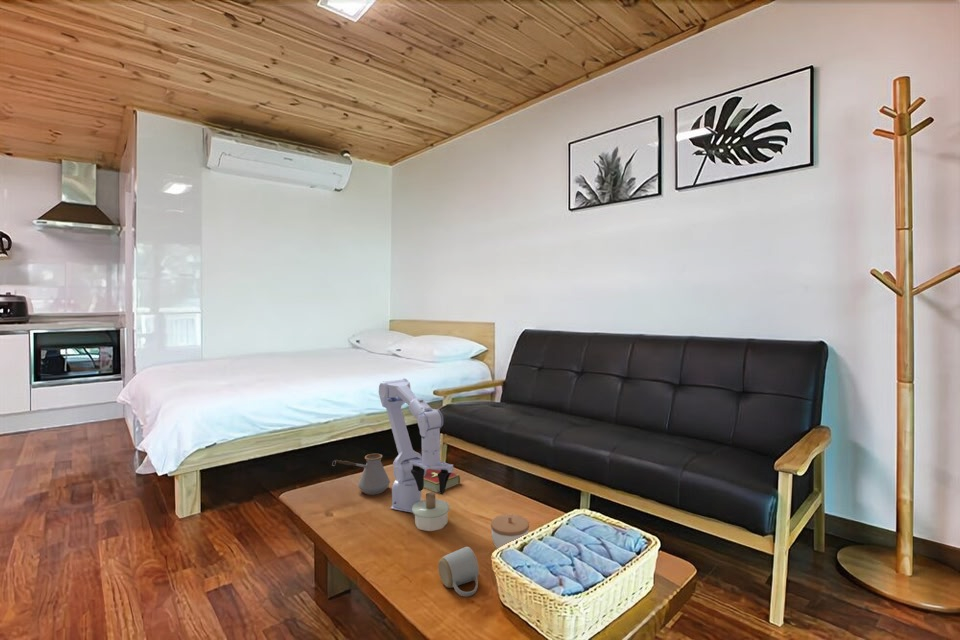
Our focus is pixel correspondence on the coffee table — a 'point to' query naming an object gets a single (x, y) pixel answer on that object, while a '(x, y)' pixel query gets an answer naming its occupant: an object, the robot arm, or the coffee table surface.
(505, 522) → the lidded jar
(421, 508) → the lid
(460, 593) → the ceramic mug
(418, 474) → the robot arm
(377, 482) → the coffee pot
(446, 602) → the coffee table surface
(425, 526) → the bowl
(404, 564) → the coffee table surface
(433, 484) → the hardcover book
